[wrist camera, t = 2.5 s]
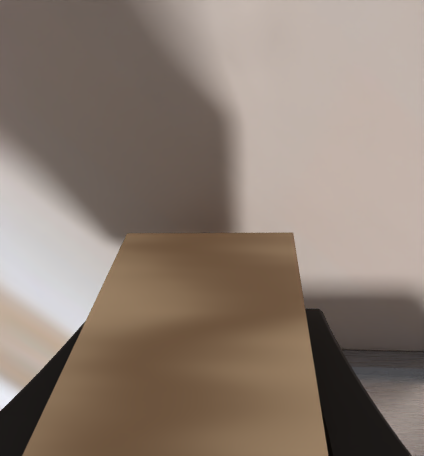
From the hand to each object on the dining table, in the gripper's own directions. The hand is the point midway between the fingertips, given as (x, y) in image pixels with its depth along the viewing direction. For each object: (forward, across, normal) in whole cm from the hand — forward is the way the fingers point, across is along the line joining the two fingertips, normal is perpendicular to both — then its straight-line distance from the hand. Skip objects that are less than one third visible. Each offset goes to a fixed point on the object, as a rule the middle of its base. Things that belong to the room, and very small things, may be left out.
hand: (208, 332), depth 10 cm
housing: (+2, 0, 0) cm, 2 cm away
